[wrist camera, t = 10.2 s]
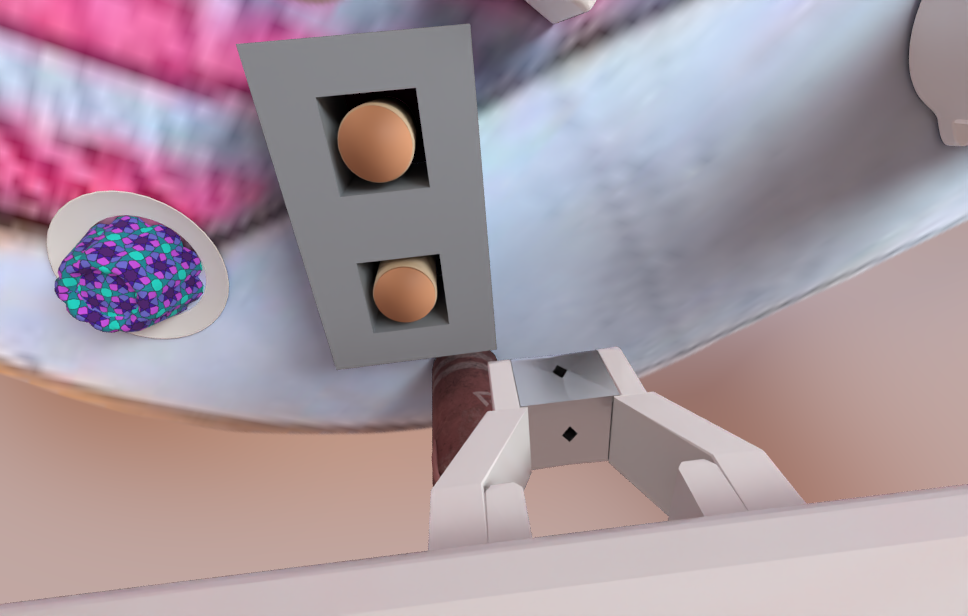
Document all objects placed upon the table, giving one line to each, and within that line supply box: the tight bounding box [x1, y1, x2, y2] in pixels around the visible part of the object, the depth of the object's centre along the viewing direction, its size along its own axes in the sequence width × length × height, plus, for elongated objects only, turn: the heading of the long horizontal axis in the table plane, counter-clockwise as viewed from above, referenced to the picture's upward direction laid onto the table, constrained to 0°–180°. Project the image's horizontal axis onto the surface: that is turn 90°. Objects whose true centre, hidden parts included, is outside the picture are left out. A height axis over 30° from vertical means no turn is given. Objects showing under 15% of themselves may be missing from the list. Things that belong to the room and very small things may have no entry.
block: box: [236, 24, 497, 370], centre depth 29 cm, size 11×19×8 cm, turn 5°
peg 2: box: [373, 254, 437, 322], centre depth 30 cm, size 4×4×8 cm
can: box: [432, 350, 497, 487], centre depth 34 cm, size 6×6×14 cm
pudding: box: [46, 191, 229, 339], centre depth 31 cm, size 12×12×5 cm
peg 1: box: [338, 96, 418, 183], centre depth 26 cm, size 4×4×8 cm
